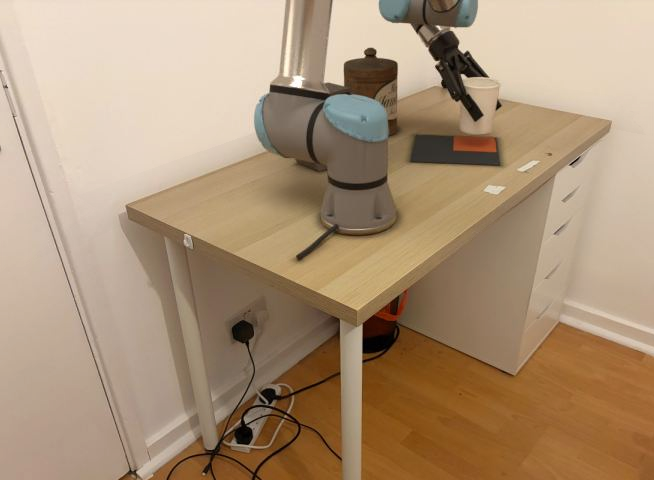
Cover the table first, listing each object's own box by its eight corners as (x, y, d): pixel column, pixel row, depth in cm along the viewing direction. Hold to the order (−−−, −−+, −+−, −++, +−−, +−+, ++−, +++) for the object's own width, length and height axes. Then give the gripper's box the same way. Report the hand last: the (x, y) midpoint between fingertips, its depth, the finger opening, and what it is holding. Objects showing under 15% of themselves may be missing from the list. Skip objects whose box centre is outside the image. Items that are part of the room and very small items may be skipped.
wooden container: (390, 140, 152) (391, 54, 140) (338, 136, 155) (334, 52, 143) (401, 124, 164) (403, 43, 152) (353, 120, 167) (351, 41, 155)
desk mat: (500, 166, 137) (500, 164, 136) (410, 162, 139) (410, 160, 139) (496, 138, 153) (496, 137, 153) (415, 135, 156) (415, 134, 155)
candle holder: (498, 135, 142) (504, 87, 136) (459, 136, 142) (463, 87, 136) (491, 123, 150) (496, 76, 144) (454, 123, 150) (458, 77, 144)
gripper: (451, 42, 151) (498, 112, 152) (405, 56, 137) (456, 133, 138) (471, 23, 146) (518, 95, 146) (424, 35, 132) (478, 115, 132)
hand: (488, 113), depth 142 cm, fingers closed on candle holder, 9 cm apart
